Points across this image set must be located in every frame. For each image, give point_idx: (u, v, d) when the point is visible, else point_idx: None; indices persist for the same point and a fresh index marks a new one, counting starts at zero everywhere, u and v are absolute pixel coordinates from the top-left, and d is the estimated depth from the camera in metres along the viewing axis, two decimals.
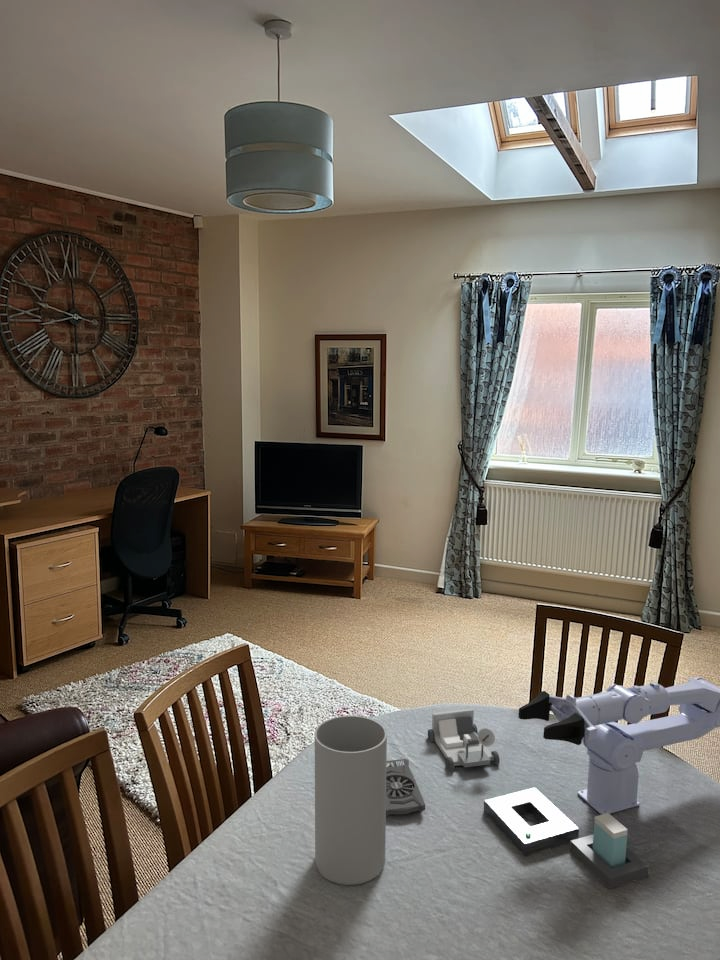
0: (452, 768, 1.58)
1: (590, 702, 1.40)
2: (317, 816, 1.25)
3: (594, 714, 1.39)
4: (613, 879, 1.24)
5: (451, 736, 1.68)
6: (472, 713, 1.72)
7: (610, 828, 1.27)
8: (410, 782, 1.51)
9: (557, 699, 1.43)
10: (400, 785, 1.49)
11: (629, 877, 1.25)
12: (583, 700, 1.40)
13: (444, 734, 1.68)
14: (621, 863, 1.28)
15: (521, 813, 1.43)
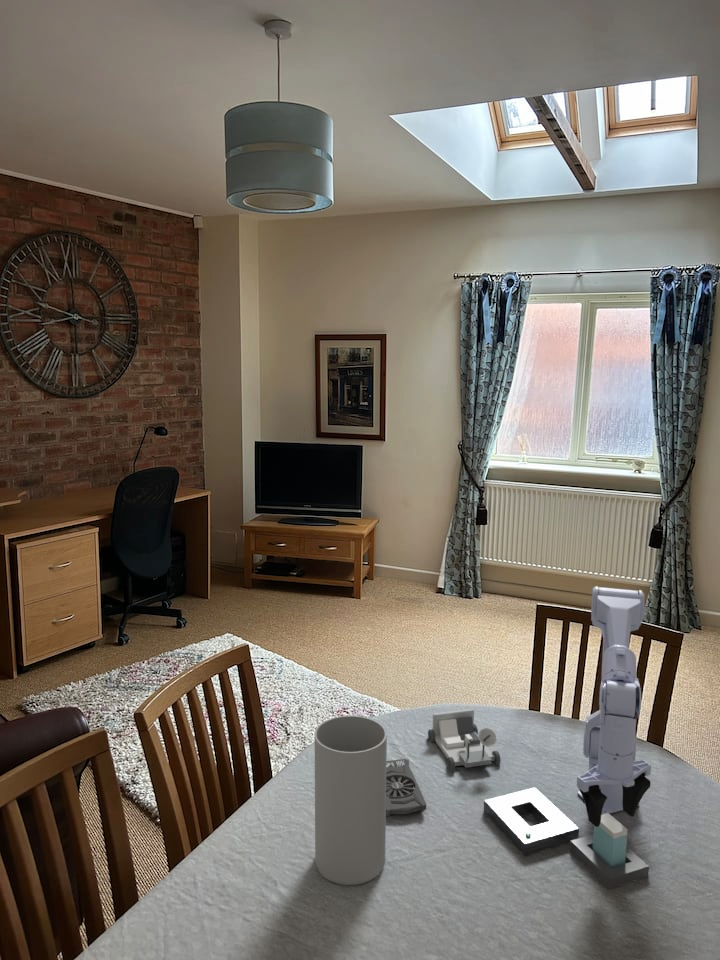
0: (453, 768, 1.58)
1: (631, 758, 1.24)
2: (317, 816, 1.25)
3: None
4: (613, 879, 1.24)
5: (452, 736, 1.68)
6: (472, 713, 1.72)
7: (610, 828, 1.27)
8: (411, 782, 1.51)
9: None
10: (401, 785, 1.49)
11: (629, 877, 1.25)
12: (628, 766, 1.24)
13: (445, 734, 1.68)
14: (621, 863, 1.28)
15: (521, 813, 1.43)
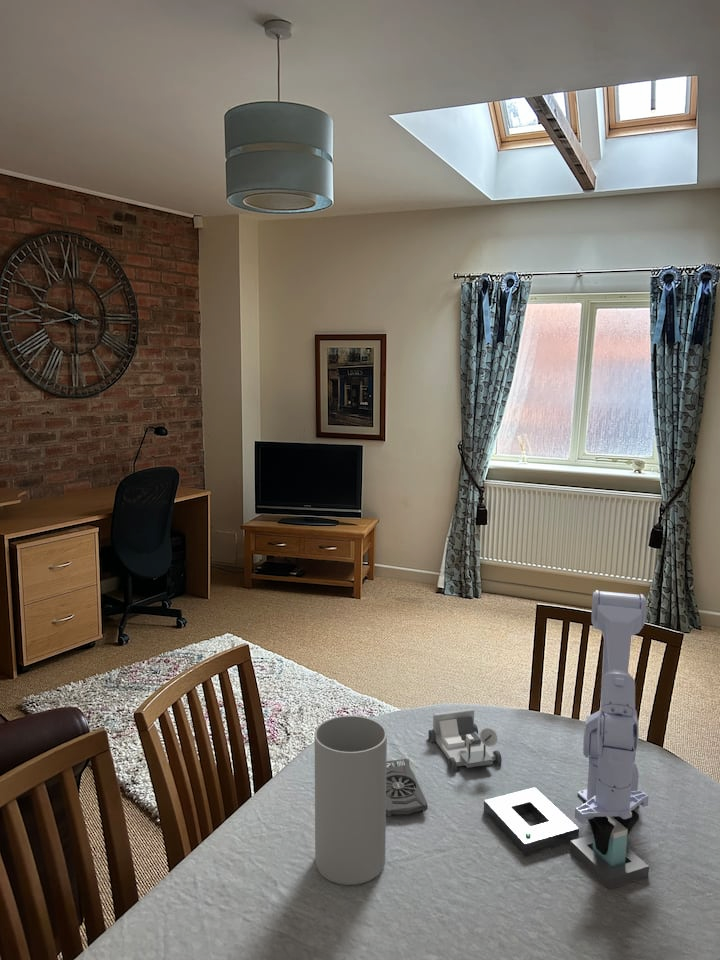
0: (455, 768, 1.58)
1: (629, 790, 1.25)
2: (317, 816, 1.25)
3: None
4: (613, 879, 1.24)
5: (452, 736, 1.68)
6: (472, 713, 1.72)
7: None
8: (411, 782, 1.51)
9: None
10: (402, 785, 1.49)
11: (629, 877, 1.25)
12: (626, 797, 1.25)
13: (445, 734, 1.68)
14: (621, 863, 1.28)
15: (521, 813, 1.43)
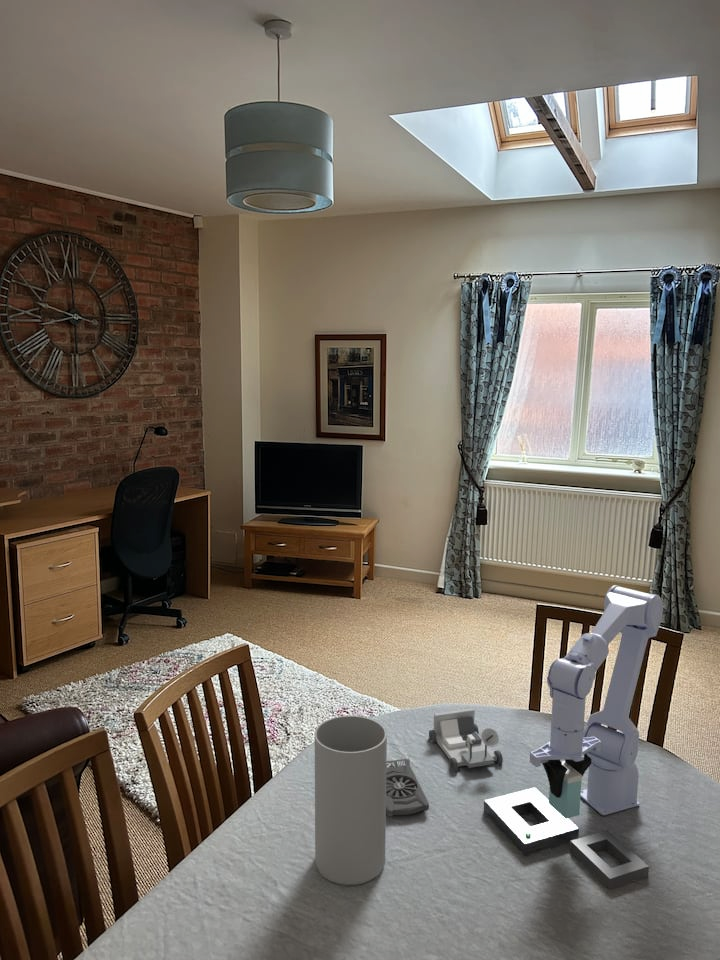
0: (456, 769, 1.57)
1: (581, 734, 1.30)
2: (317, 816, 1.25)
3: None
4: (613, 879, 1.24)
5: (453, 736, 1.68)
6: (473, 713, 1.72)
7: (565, 774, 1.31)
8: (412, 782, 1.51)
9: None
10: (403, 785, 1.49)
11: (629, 877, 1.25)
12: (578, 741, 1.30)
13: (446, 734, 1.68)
14: (576, 808, 1.32)
15: (521, 813, 1.43)
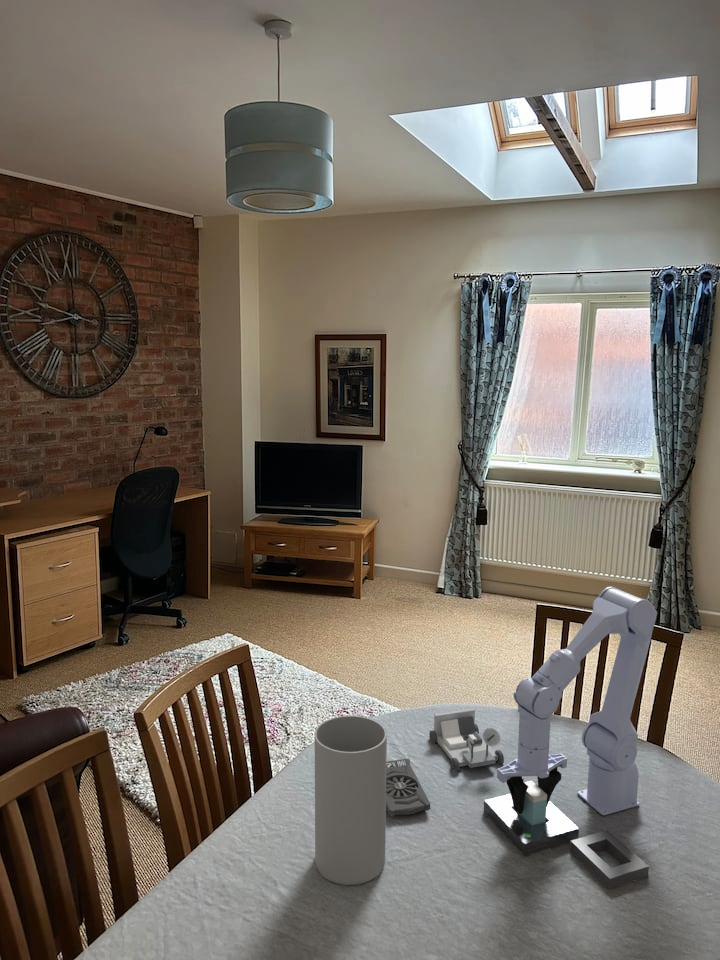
0: (458, 769, 1.57)
1: (546, 752, 1.35)
2: (317, 816, 1.25)
3: None
4: (613, 879, 1.24)
5: (454, 737, 1.68)
6: (473, 713, 1.72)
7: (531, 793, 1.37)
8: (413, 782, 1.51)
9: None
10: (404, 785, 1.49)
11: (629, 877, 1.25)
12: (543, 759, 1.35)
13: (447, 735, 1.68)
14: None
15: None
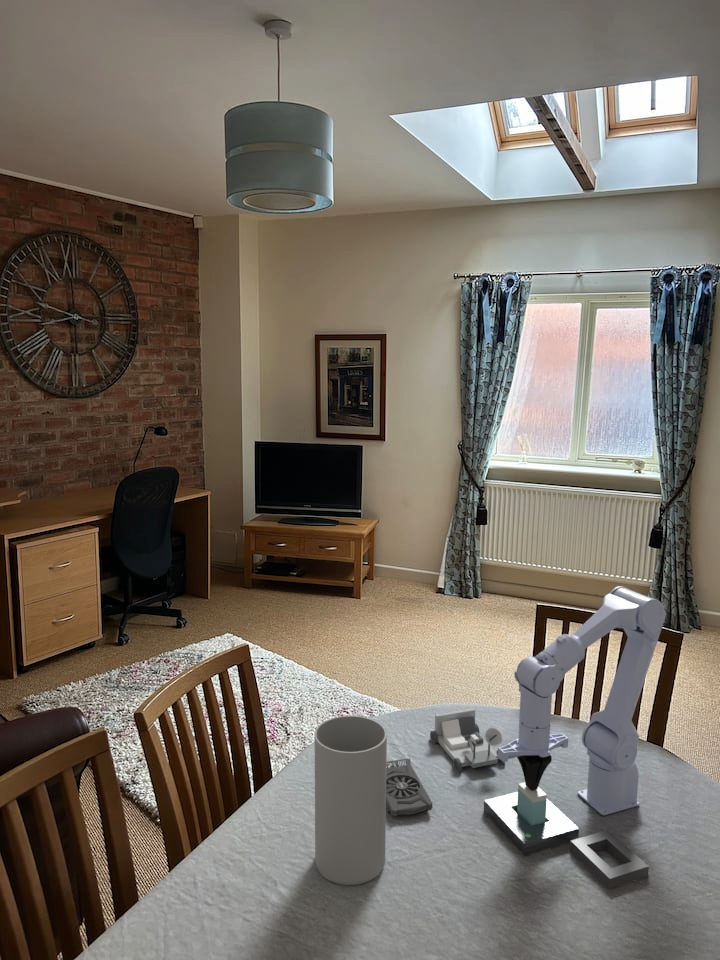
0: (460, 769, 1.57)
1: (548, 731, 1.35)
2: (317, 816, 1.25)
3: None
4: (613, 879, 1.24)
5: (455, 737, 1.67)
6: (473, 713, 1.72)
7: (531, 793, 1.37)
8: (414, 781, 1.51)
9: None
10: (405, 785, 1.49)
11: (629, 877, 1.25)
12: (545, 738, 1.34)
13: (448, 735, 1.68)
14: None
15: None
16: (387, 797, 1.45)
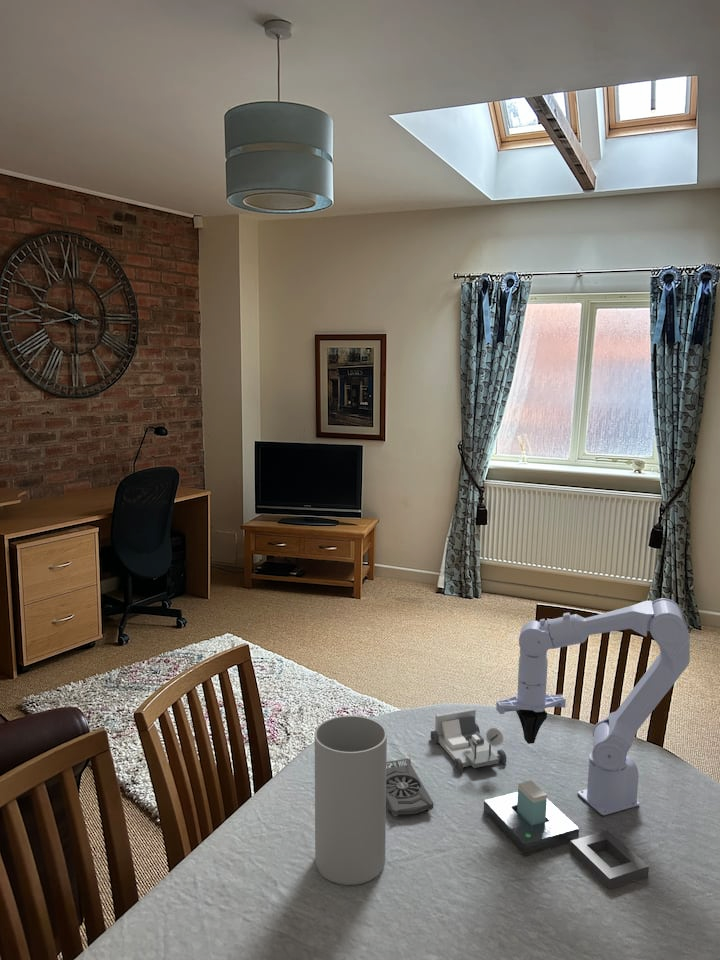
0: (461, 769, 1.57)
1: (543, 689, 1.47)
2: (317, 816, 1.25)
3: None
4: (613, 879, 1.24)
5: (455, 737, 1.67)
6: (474, 713, 1.72)
7: (531, 793, 1.37)
8: (415, 781, 1.51)
9: None
10: (406, 785, 1.49)
11: (629, 877, 1.25)
12: (539, 695, 1.46)
13: (448, 735, 1.68)
14: None
15: None
16: (388, 797, 1.45)
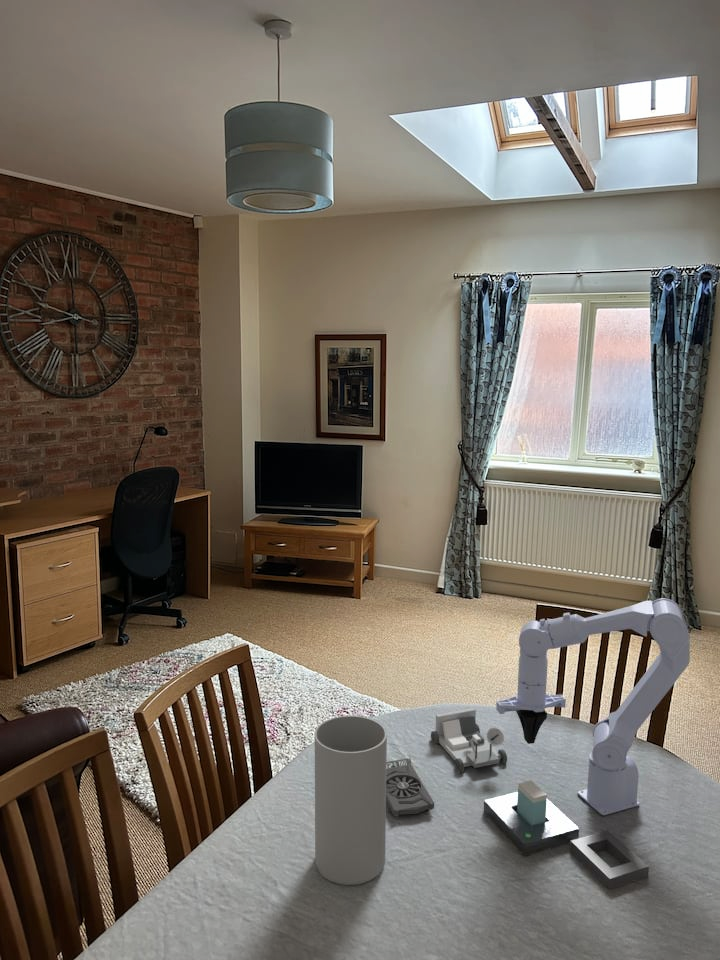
0: (462, 769, 1.57)
1: (543, 689, 1.47)
2: (317, 816, 1.25)
3: None
4: (613, 879, 1.24)
5: (456, 737, 1.67)
6: (474, 713, 1.72)
7: (531, 793, 1.37)
8: (415, 781, 1.51)
9: None
10: (406, 785, 1.49)
11: (629, 877, 1.25)
12: (539, 695, 1.46)
13: (449, 735, 1.68)
14: None
15: None
16: (389, 797, 1.45)
